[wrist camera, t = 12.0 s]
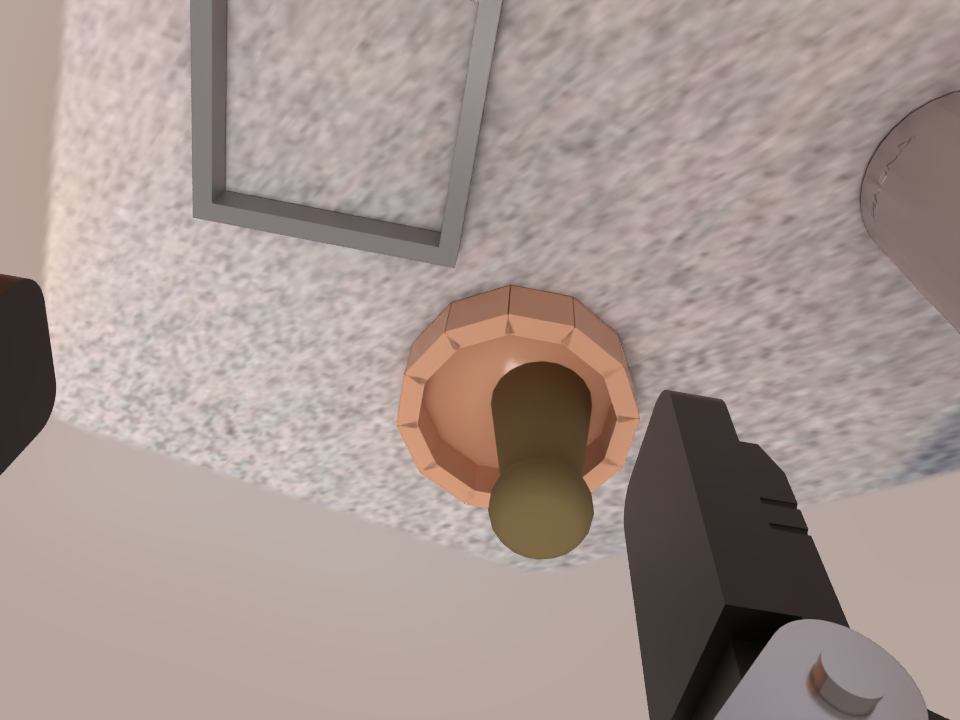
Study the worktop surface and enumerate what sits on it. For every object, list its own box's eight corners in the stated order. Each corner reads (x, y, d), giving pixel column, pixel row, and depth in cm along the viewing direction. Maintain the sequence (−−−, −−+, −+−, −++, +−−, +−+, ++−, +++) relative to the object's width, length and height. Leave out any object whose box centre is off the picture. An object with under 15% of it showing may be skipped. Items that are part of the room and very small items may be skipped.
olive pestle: (551, 460, 49) (552, 596, 40) (471, 412, 48) (453, 540, 38) (613, 396, 47) (630, 525, 37) (530, 343, 45) (526, 462, 36)
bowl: (657, 313, 45) (665, 343, 42) (598, 492, 52) (601, 529, 49) (424, 268, 44) (415, 296, 41) (395, 454, 51) (386, 489, 48)
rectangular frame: (507, -23, 36) (505, -18, 35) (458, 253, 44) (454, 268, 42) (205, -85, 36) (189, -83, 34) (206, 204, 43) (192, 217, 42)
